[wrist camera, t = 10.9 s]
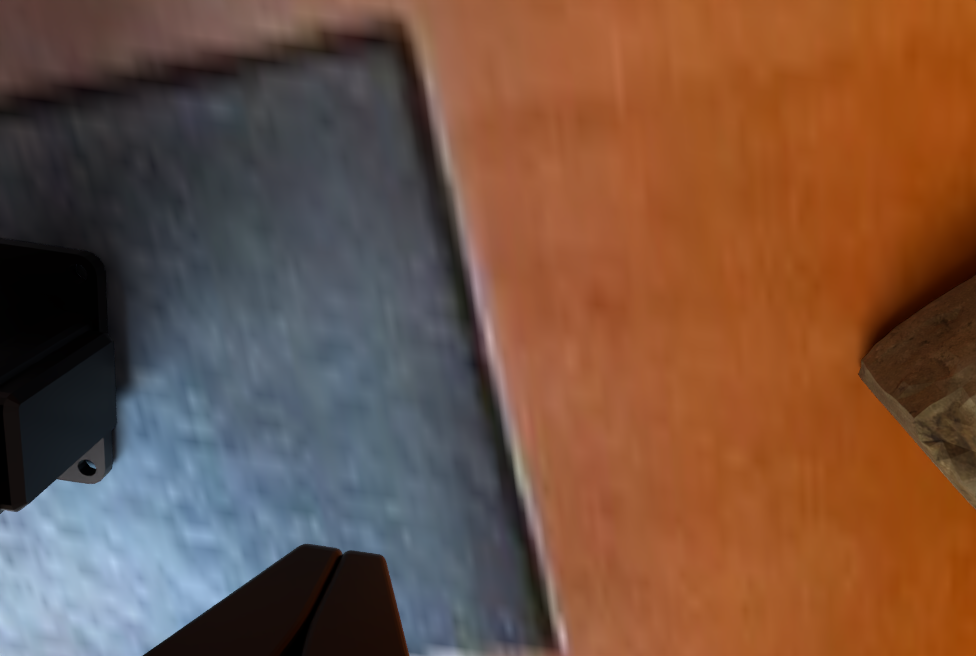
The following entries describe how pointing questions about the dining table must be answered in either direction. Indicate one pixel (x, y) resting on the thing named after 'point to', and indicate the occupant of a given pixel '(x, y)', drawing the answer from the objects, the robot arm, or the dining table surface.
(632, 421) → the dining table surface
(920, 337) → the stone block
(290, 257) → the dining table surface
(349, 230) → the dining table surface
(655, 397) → the dining table surface
